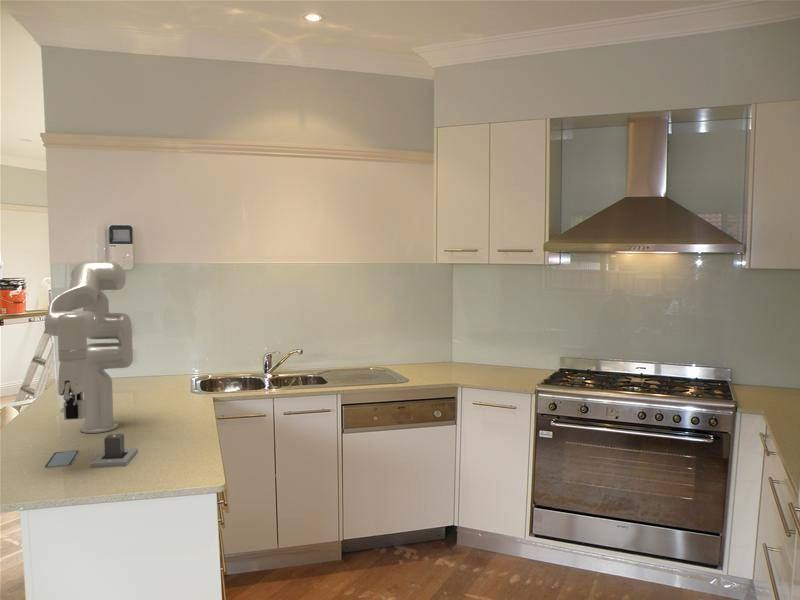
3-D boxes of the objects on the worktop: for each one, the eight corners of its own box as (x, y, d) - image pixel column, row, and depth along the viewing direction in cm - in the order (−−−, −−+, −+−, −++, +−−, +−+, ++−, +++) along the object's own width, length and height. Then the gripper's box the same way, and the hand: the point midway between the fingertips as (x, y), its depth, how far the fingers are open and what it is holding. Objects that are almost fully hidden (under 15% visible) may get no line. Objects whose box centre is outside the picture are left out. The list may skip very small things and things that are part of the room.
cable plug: (64, 417, 185) (63, 400, 184) (86, 416, 186) (85, 399, 185) (59, 419, 181) (59, 403, 181) (82, 418, 182) (81, 402, 182)
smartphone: (43, 467, 184) (54, 452, 198) (43, 470, 184) (54, 454, 198) (70, 465, 186) (80, 449, 200) (71, 467, 186) (80, 452, 200)
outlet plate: (104, 453, 199) (104, 449, 198) (137, 451, 200) (137, 447, 200) (90, 467, 185) (90, 463, 185) (125, 465, 186) (125, 461, 186)
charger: (109, 456, 194) (108, 434, 194) (124, 455, 195) (123, 433, 195) (104, 460, 190) (104, 438, 190) (120, 460, 191) (119, 437, 190)
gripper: (69, 351, 190) (71, 410, 191) (48, 359, 174) (50, 424, 175) (95, 351, 191) (97, 409, 192) (76, 359, 175) (78, 423, 176)
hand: (74, 416), depth 184 cm, fingers closed on cable plug, 3 cm apart
